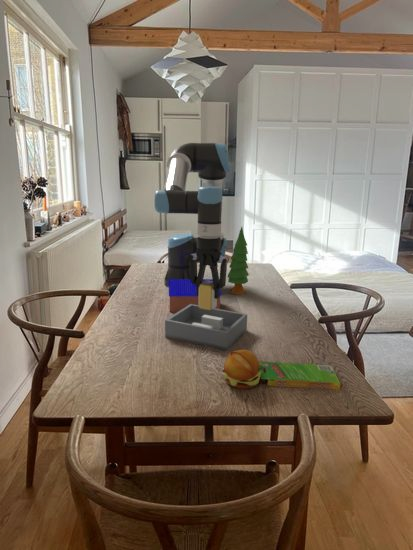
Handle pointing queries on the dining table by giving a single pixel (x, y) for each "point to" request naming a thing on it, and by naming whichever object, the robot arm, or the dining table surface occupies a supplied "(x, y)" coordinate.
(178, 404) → the dining table surface
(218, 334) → the box
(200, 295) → the yellow jar
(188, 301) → the house
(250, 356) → the cheeseburger
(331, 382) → the game box
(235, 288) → the decorative tree
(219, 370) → the dining table surface
